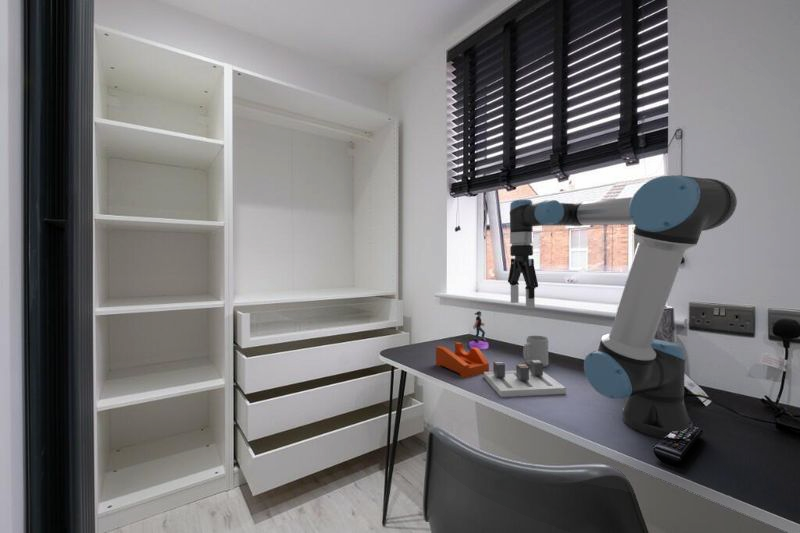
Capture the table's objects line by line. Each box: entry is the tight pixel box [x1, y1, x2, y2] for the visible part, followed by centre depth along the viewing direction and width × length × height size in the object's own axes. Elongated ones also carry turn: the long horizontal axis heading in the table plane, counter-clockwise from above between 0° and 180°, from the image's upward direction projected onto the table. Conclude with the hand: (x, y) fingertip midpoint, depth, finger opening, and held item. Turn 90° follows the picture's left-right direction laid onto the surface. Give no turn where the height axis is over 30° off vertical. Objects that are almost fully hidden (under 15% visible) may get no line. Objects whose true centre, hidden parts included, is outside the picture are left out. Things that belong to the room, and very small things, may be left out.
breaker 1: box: [492, 361, 506, 378], centre depth 124 cm, size 4×3×5 cm
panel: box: [483, 369, 567, 398], centre depth 121 cm, size 18×22×2 cm
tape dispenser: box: [435, 341, 490, 379], centre depth 140 cm, size 18×13×8 cm
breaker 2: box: [515, 363, 530, 381], centre depth 121 cm, size 4×3×5 cm
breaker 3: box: [529, 360, 544, 376], centre depth 125 cm, size 4×3×5 cm
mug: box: [522, 335, 549, 368], centre depth 143 cm, size 12×8×11 cm
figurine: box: [469, 310, 489, 350], centre depth 171 cm, size 9×9×18 cm
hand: (522, 305), depth 120 cm, fingers open, 12 cm apart
